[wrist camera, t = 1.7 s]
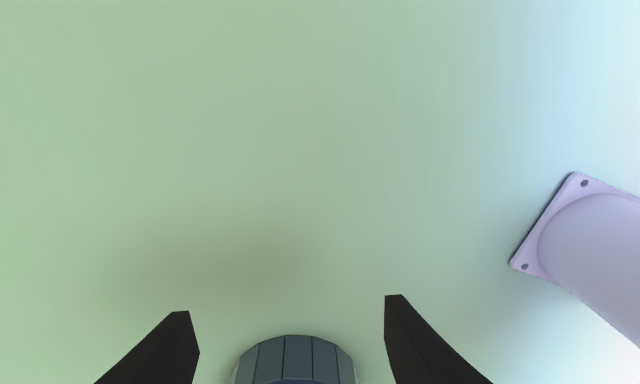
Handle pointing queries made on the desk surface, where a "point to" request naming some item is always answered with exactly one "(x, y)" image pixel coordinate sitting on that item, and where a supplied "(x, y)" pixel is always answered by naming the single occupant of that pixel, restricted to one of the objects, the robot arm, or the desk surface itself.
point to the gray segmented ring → (295, 363)
